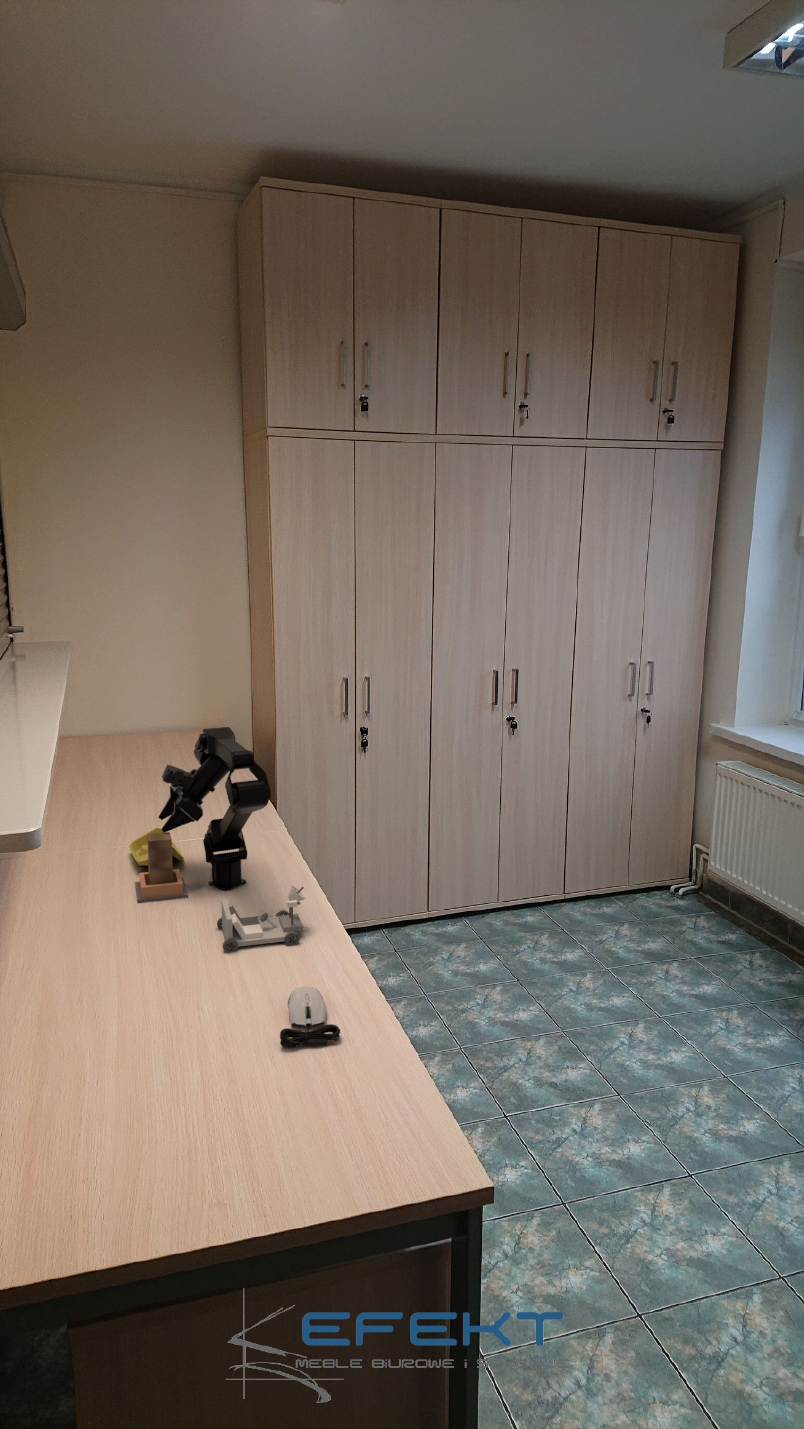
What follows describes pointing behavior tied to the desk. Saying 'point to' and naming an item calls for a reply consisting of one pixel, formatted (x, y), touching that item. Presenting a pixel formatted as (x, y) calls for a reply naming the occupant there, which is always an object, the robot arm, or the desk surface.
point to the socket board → (160, 888)
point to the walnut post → (160, 858)
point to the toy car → (261, 925)
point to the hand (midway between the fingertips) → (161, 824)
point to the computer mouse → (308, 1019)
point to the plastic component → (141, 848)
